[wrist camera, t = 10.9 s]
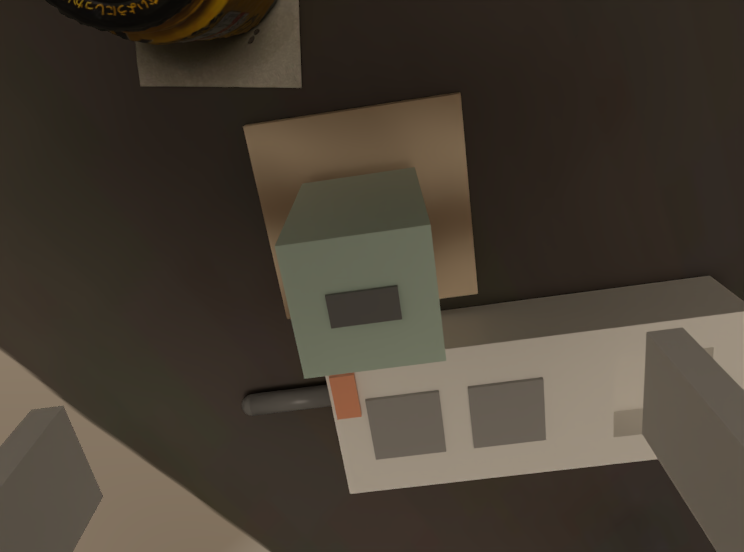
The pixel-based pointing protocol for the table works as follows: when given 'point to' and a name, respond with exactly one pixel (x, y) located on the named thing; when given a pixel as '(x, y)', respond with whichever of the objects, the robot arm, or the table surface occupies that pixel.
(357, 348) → the block
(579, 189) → the table surface
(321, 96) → the table surface
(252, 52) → the condiment
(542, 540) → the table surface
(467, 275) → the cork coaster
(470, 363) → the power strip
